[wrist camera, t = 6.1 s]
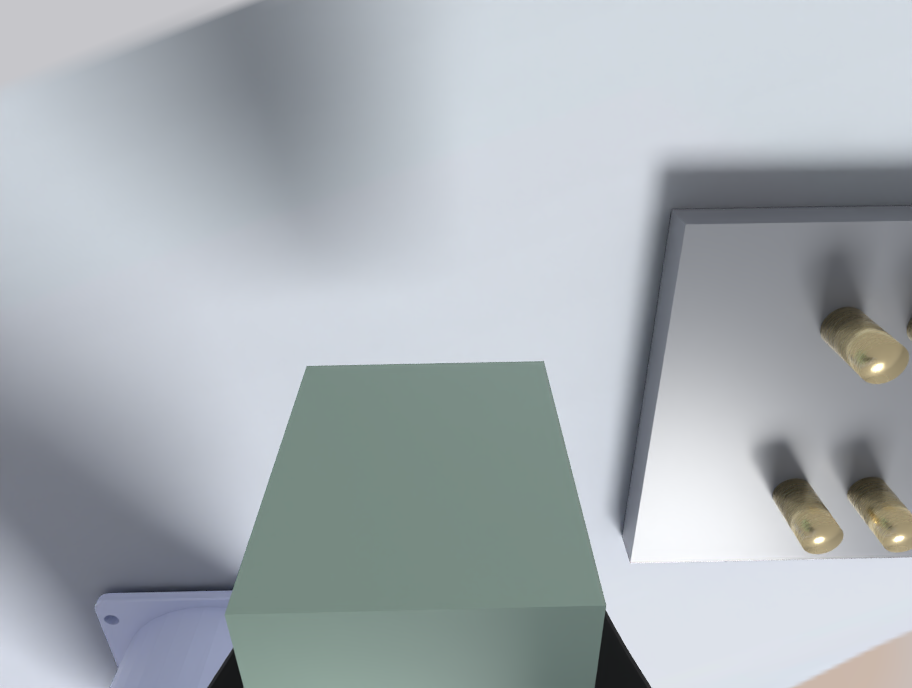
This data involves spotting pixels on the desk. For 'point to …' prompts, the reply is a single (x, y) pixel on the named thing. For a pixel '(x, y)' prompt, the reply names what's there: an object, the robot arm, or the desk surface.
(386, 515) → the board block
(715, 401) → the plate
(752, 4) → the desk surface
